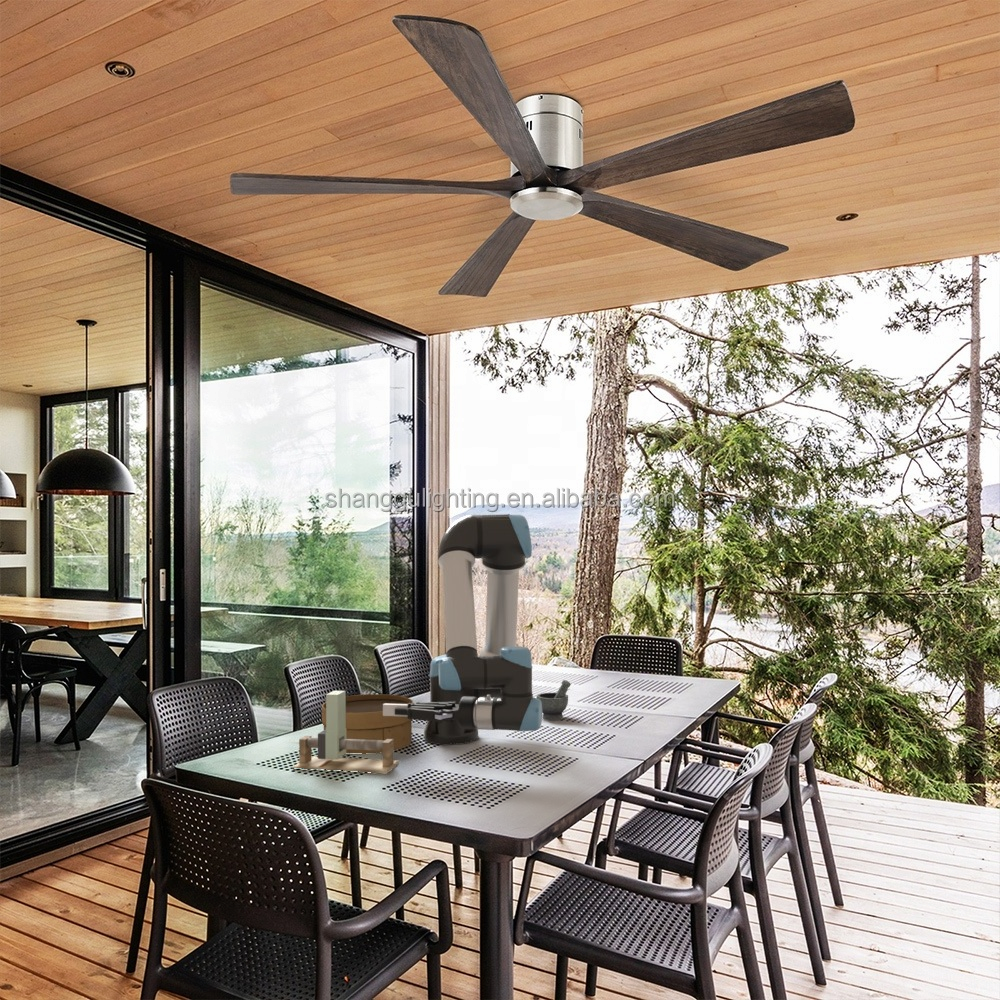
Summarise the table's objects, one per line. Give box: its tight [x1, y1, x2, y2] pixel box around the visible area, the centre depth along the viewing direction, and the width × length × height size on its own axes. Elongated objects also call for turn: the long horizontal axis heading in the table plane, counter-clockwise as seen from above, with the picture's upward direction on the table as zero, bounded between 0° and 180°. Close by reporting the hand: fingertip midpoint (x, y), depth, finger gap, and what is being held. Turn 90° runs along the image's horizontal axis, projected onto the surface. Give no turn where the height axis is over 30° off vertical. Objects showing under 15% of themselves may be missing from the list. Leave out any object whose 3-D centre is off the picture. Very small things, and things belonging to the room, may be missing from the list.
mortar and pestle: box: [535, 679, 572, 721], centre depth 247 cm, size 11×9×12 cm
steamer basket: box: [321, 693, 415, 755], centre depth 220 cm, size 25×25×11 cm
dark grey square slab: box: [317, 729, 326, 759], centre depth 198 cm, size 2×6×6 cm, turn 169°
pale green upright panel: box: [325, 690, 347, 760], centre depth 197 cm, size 3×6×16 cm, turn 169°
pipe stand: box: [292, 735, 400, 775], centre depth 197 cm, size 24×9×7 cm, turn 79°
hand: (384, 709), depth 196 cm, fingers closed
